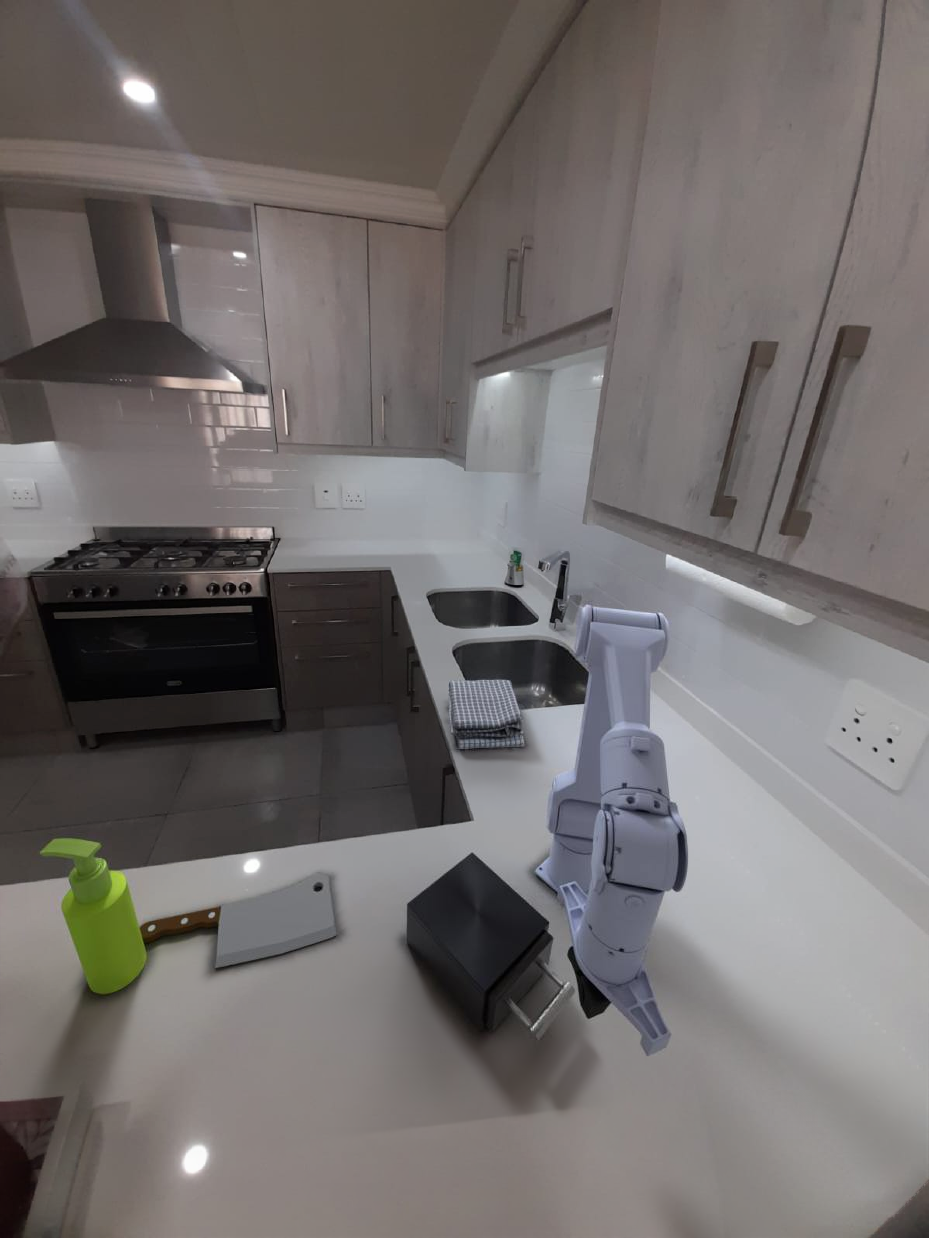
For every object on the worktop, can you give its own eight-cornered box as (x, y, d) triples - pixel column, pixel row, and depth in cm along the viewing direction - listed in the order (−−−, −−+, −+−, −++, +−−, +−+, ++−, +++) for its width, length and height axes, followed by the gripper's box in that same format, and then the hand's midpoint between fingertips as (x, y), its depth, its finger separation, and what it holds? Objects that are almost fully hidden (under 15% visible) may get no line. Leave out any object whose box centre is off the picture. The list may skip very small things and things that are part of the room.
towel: (508, 700, 117) (511, 672, 114) (525, 750, 101) (529, 719, 97) (445, 701, 115) (447, 673, 112) (452, 752, 99) (454, 720, 96)
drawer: (579, 997, 58) (587, 967, 56) (524, 1071, 52) (530, 1041, 49) (477, 897, 69) (480, 869, 67) (421, 947, 63) (421, 918, 60)
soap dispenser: (105, 939, 62) (67, 821, 54) (157, 946, 62) (127, 828, 54) (67, 989, 57) (19, 866, 49) (123, 997, 56) (85, 874, 49)
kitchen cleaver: (121, 990, 56) (144, 907, 65) (123, 994, 57) (146, 912, 65) (337, 937, 64) (332, 869, 72) (337, 941, 64) (333, 873, 72)
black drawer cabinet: (542, 960, 63) (549, 922, 60) (479, 1032, 55) (484, 992, 52) (469, 888, 72) (472, 851, 68) (406, 941, 64) (406, 903, 61)
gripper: (714, 988, 39) (675, 1078, 44) (606, 843, 51) (585, 927, 56) (642, 1022, 36) (610, 1112, 42) (547, 861, 48) (531, 947, 54)
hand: (592, 1008), depth 49 cm, fingers closed
